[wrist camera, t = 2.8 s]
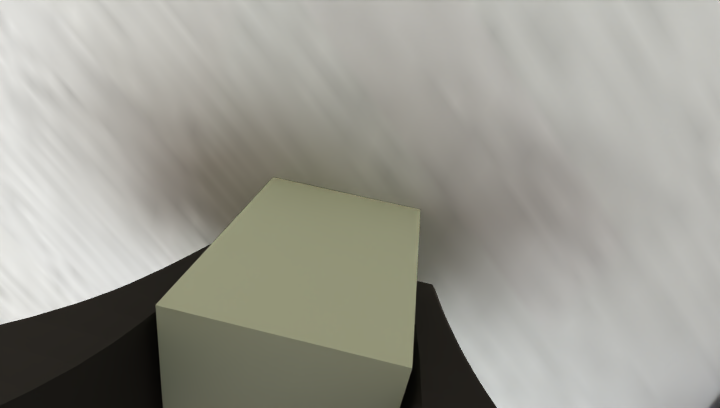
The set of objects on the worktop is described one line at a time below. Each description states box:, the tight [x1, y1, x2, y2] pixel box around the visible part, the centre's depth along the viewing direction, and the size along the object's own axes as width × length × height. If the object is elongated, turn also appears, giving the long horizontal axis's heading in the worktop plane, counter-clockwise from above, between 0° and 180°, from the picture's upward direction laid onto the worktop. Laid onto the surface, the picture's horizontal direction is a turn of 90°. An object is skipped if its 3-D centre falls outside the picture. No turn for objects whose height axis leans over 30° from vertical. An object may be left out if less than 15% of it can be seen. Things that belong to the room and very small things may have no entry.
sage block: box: [155, 177, 420, 408], centre depth 11 cm, size 4×4×6 cm
